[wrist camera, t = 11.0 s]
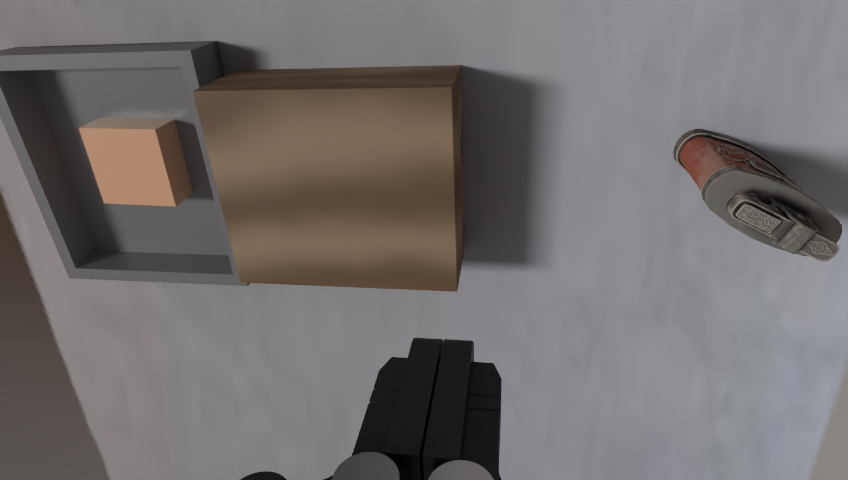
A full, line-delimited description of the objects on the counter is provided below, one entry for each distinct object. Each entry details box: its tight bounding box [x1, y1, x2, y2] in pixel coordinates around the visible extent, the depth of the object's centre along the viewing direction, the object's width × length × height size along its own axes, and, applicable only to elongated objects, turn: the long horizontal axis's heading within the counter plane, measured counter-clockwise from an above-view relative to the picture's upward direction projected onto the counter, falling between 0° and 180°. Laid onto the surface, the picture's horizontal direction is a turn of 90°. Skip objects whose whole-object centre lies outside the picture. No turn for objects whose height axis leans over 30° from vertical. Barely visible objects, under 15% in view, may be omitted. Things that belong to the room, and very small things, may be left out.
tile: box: [79, 118, 193, 207], centre depth 42 cm, size 6×6×2 cm
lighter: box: [673, 129, 842, 262], centre depth 33 cm, size 8×3×10 cm, turn 66°
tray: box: [0, 41, 250, 286], centre depth 42 cm, size 18×16×4 cm
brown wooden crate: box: [193, 65, 464, 291], centre depth 39 cm, size 14×16×6 cm
